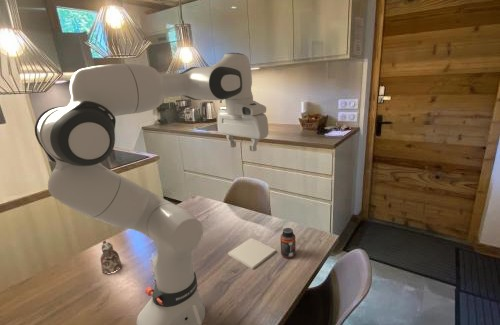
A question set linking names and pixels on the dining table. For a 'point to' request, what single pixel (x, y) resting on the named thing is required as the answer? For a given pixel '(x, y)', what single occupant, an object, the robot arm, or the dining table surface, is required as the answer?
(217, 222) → the dining table surface
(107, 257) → the figurine
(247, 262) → the plate
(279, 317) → the dining table surface
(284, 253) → the supplement bottle
